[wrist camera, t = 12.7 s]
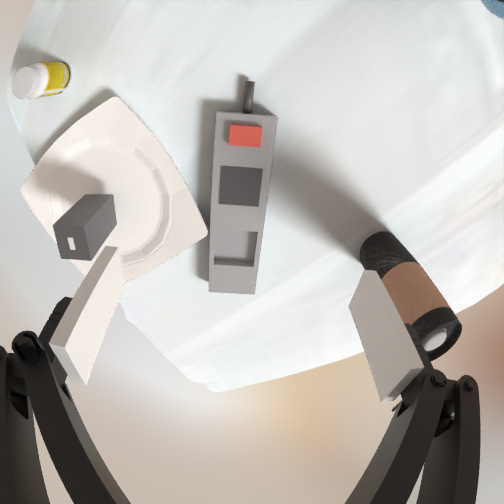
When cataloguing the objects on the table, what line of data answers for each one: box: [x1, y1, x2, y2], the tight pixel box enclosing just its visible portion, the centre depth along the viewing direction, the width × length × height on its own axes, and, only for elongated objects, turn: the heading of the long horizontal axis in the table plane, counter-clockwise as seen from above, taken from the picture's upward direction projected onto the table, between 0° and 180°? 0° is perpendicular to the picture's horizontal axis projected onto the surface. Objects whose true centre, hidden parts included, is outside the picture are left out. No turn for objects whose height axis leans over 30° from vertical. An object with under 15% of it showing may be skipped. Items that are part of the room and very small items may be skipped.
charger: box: [53, 194, 117, 261], centre depth 32 cm, size 4×4×9 cm
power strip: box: [209, 81, 278, 294], centre depth 37 cm, size 30×7×3 cm, turn 174°
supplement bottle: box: [12, 62, 72, 99], centre depth 23 cm, size 5×5×8 cm
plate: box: [21, 96, 208, 283], centre depth 37 cm, size 24×24×3 cm
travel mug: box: [360, 232, 462, 361], centre depth 35 cm, size 8×8×20 cm
